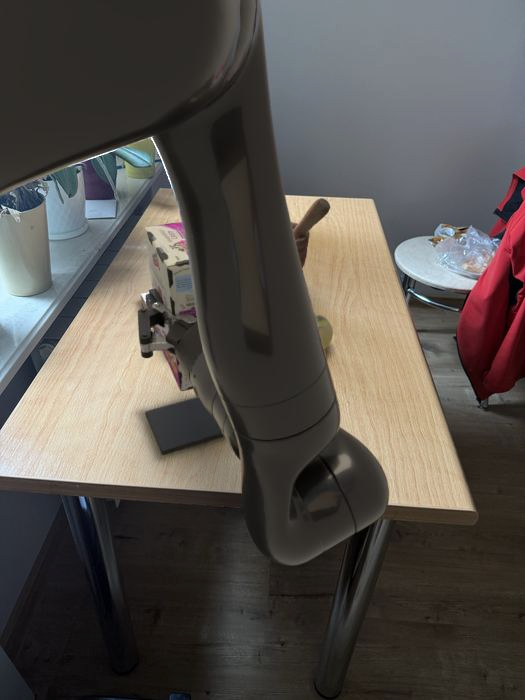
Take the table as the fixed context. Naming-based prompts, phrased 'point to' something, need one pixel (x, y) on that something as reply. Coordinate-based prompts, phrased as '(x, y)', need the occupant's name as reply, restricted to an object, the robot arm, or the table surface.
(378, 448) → the table surface
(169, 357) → the candy bar box
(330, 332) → the apple
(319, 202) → the mortar and pestle
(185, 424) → the mat
